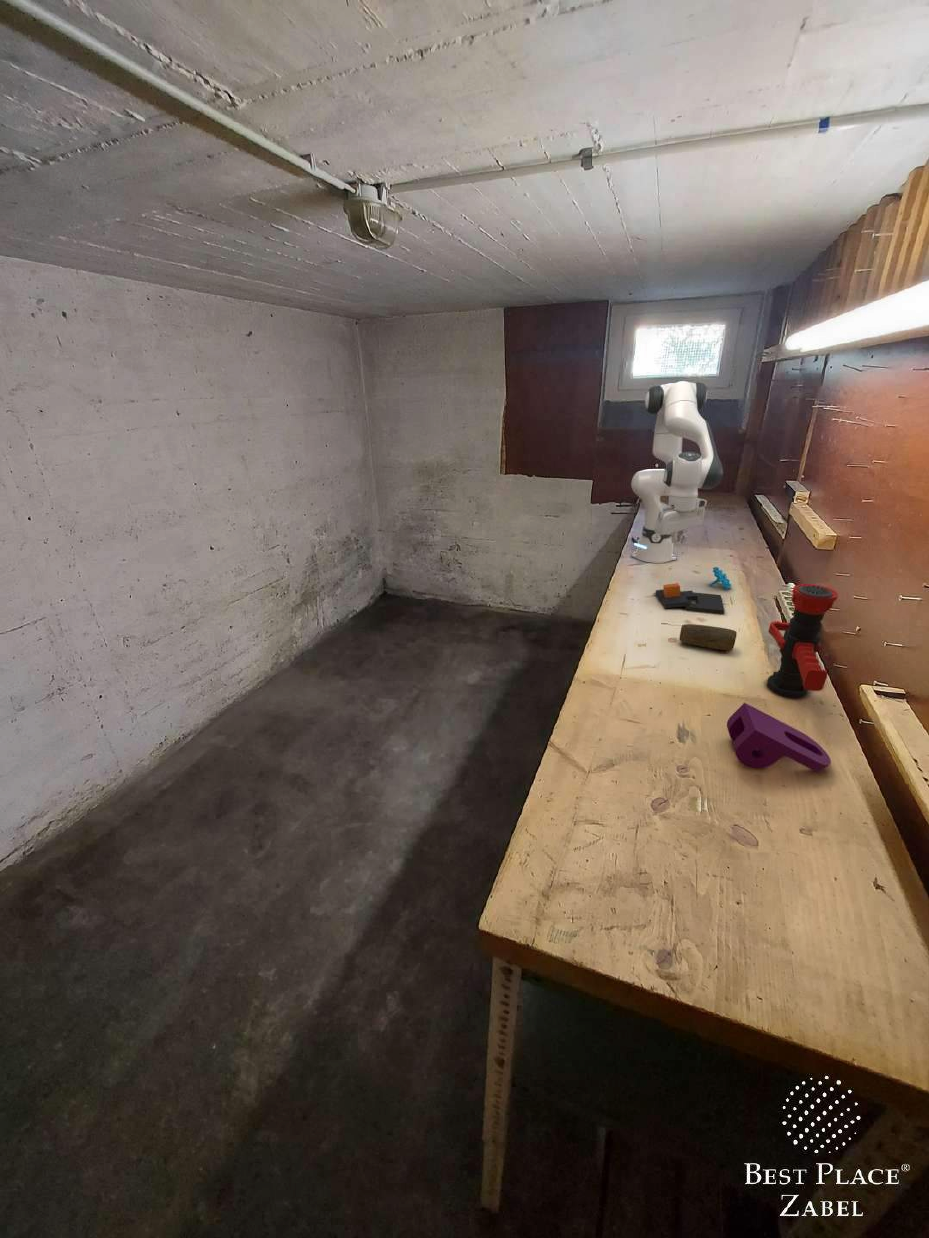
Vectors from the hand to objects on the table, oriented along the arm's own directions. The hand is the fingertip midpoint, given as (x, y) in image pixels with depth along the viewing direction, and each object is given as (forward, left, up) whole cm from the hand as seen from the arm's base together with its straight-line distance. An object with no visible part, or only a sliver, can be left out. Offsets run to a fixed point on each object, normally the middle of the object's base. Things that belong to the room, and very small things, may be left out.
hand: (676, 542), depth 170 cm
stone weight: (+36, +11, -21) cm, 43 cm away
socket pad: (+4, +12, -21) cm, 24 cm away
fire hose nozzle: (+56, +29, -21) cm, 67 cm away
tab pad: (+4, +3, -20) cm, 20 cm away
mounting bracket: (+83, +22, -21) cm, 89 cm away
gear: (-15, +19, -21) cm, 32 cm away
